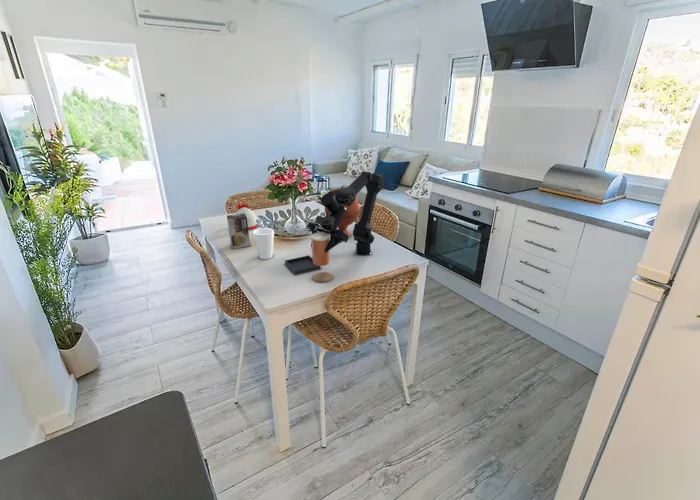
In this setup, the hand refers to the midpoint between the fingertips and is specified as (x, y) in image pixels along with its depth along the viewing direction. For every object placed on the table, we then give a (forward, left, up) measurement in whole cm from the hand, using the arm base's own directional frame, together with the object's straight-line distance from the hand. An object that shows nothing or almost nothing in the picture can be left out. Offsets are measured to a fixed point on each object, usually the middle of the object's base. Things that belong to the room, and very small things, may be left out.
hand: (318, 249), depth 143 cm
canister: (-1, -1, -6) cm, 6 cm away
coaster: (-2, -1, -13) cm, 14 cm away
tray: (+7, -12, -13) cm, 20 cm away
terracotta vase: (-14, -50, -14) cm, 54 cm away
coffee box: (+40, -39, -14) cm, 57 cm away
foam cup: (+25, -24, -14) cm, 38 cm away
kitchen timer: (+42, -68, -14) cm, 81 cm away
